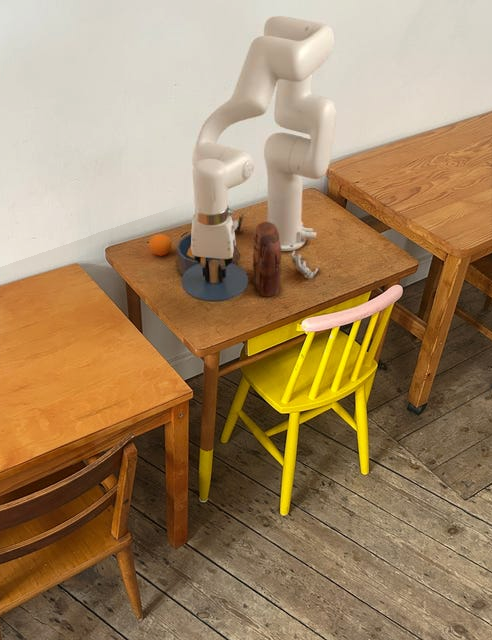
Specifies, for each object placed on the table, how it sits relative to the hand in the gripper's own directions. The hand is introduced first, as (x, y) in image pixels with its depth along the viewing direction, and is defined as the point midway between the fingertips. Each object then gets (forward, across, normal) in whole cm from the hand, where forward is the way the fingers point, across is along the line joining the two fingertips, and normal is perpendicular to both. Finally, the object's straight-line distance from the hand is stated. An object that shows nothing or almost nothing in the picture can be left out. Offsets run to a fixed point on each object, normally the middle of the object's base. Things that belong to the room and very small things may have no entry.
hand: (214, 278), depth 181 cm
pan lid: (+1, 0, 0) cm, 1 cm away
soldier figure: (+10, -20, -19) cm, 29 cm away
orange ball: (+7, +20, -22) cm, 31 cm away
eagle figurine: (+10, +4, -36) cm, 38 cm away
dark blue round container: (+10, +6, -18) cm, 21 cm away
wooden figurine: (+10, -11, -12) cm, 19 cm away
